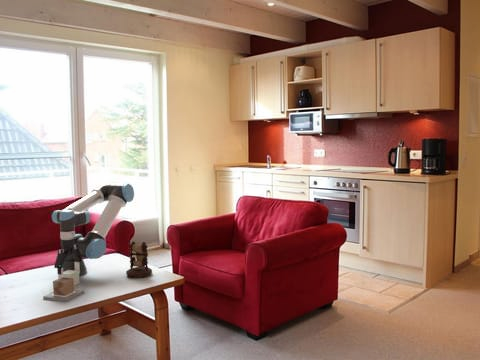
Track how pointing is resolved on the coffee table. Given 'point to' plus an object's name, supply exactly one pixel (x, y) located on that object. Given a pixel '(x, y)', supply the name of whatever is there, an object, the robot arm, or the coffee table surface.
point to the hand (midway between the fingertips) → (69, 276)
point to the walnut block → (63, 286)
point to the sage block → (72, 275)
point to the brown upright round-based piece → (138, 260)
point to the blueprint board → (63, 298)
